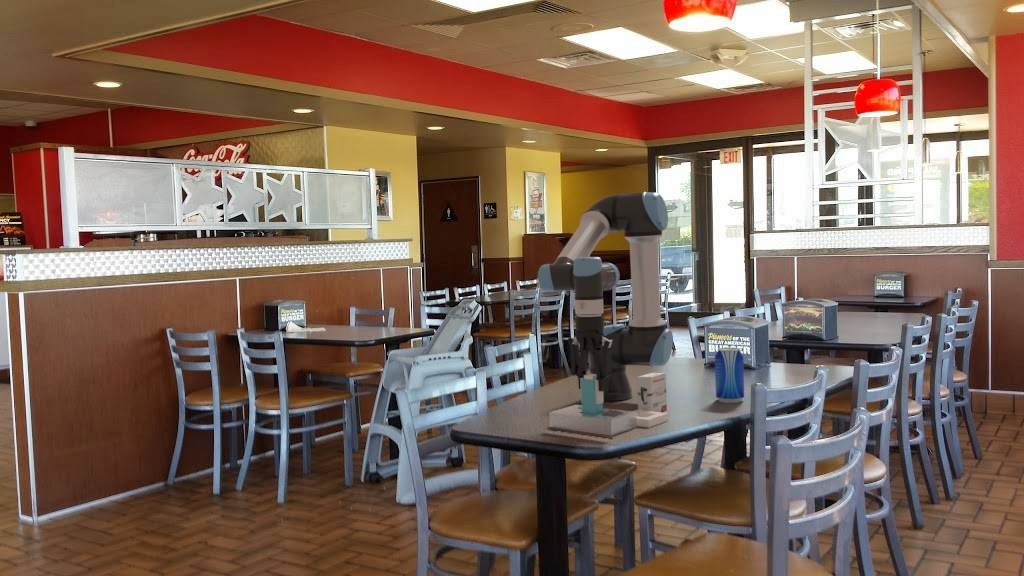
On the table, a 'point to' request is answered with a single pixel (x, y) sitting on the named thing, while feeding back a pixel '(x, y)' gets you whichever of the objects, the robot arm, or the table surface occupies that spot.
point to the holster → (650, 418)
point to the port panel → (593, 420)
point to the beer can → (729, 375)
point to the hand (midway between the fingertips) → (592, 402)
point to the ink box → (652, 392)
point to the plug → (589, 395)
